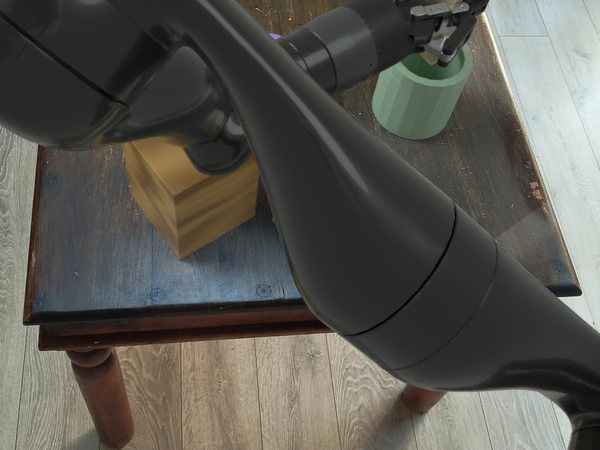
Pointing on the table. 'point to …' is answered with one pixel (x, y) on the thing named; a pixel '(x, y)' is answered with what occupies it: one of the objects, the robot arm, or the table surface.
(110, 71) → the robot arm
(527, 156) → the table surface
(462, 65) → the jar
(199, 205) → the stand
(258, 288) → the table surface
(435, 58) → the block
